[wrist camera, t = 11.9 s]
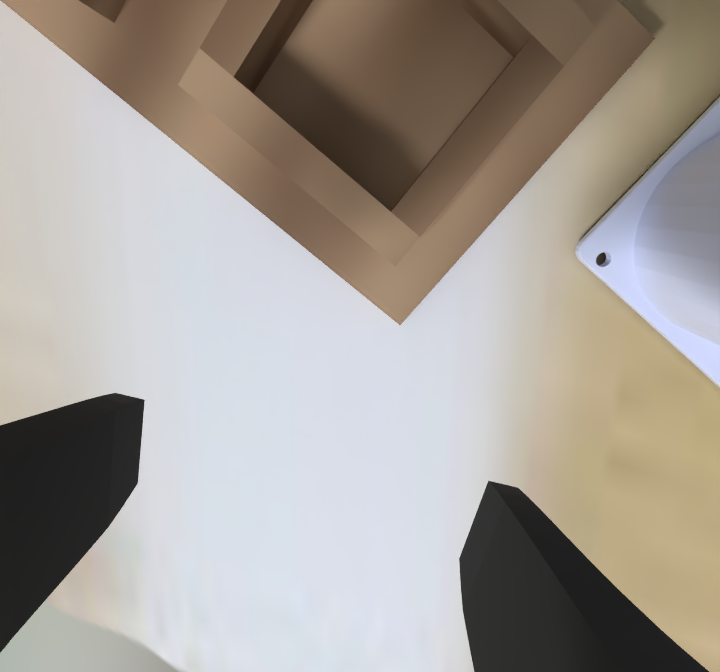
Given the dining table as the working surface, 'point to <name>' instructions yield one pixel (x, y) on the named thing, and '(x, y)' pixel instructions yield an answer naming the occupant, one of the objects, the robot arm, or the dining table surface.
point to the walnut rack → (359, 109)
